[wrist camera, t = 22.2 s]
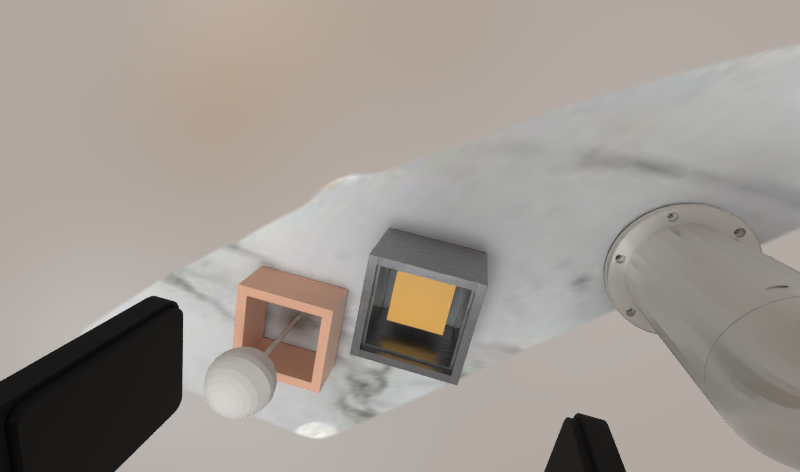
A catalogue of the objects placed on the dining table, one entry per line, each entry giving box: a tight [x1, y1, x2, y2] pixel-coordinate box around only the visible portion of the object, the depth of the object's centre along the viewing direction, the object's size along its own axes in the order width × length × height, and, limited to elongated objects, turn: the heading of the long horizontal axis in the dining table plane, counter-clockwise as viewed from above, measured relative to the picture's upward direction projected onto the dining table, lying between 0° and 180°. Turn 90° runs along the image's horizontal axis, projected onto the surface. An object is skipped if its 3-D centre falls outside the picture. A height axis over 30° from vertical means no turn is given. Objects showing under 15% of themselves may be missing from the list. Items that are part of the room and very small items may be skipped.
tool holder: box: [233, 266, 348, 393], centre depth 45 cm, size 10×10×5 cm
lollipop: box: [204, 314, 301, 419], centre depth 41 cm, size 6×6×15 cm
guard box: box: [350, 228, 488, 385], centre depth 40 cm, size 10×10×8 cm
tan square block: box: [387, 271, 456, 335], centre depth 41 cm, size 6×6×4 cm
